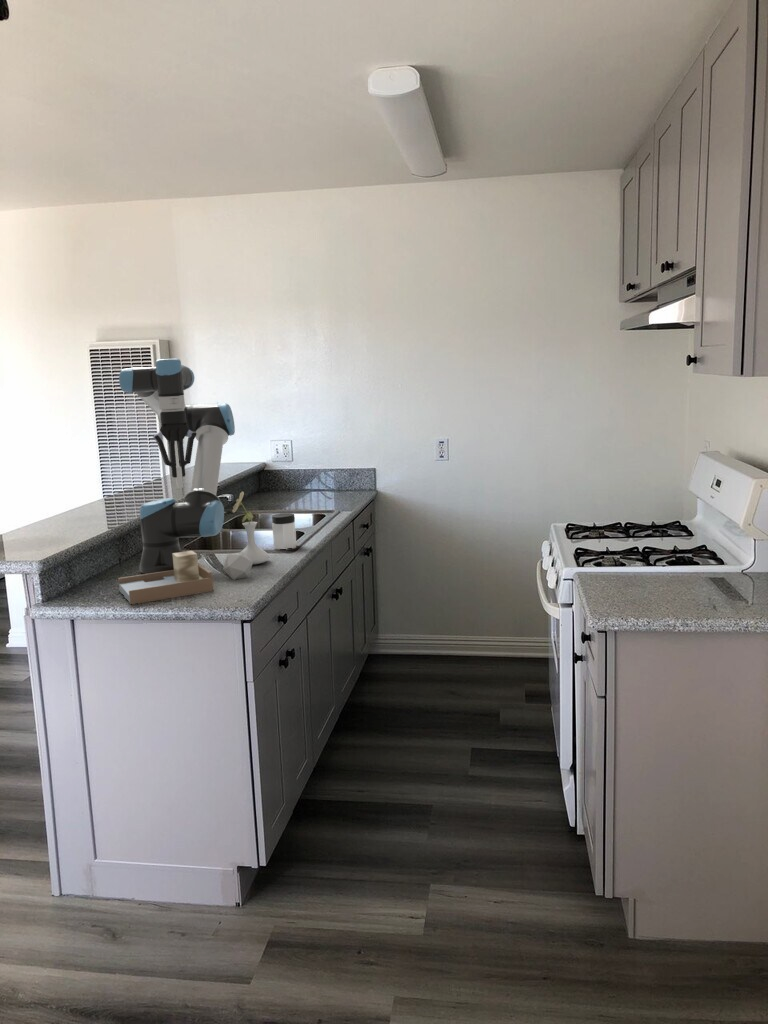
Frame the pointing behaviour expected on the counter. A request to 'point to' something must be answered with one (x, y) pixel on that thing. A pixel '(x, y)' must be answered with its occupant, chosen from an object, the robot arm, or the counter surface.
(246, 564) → the die
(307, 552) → the counter surface
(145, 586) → the box
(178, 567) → the block
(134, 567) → the counter surface
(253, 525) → the flower in vase
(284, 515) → the jar
